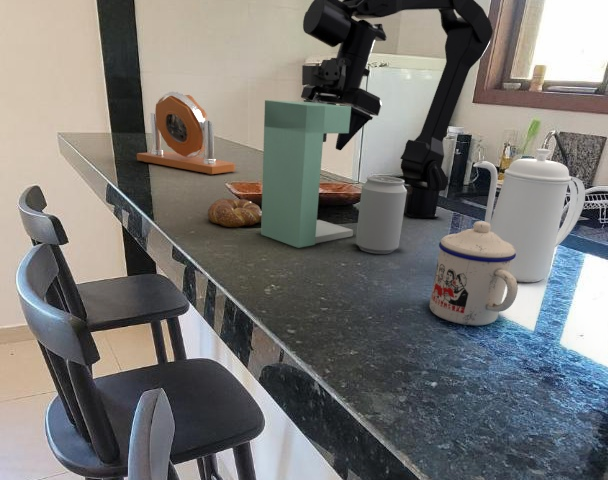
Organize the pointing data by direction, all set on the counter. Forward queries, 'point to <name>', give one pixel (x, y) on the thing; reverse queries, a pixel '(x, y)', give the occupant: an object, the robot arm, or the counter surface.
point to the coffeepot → (533, 211)
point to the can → (381, 214)
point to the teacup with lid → (473, 277)
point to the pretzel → (234, 213)
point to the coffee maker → (297, 170)
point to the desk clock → (183, 136)
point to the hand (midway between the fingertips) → (324, 146)
